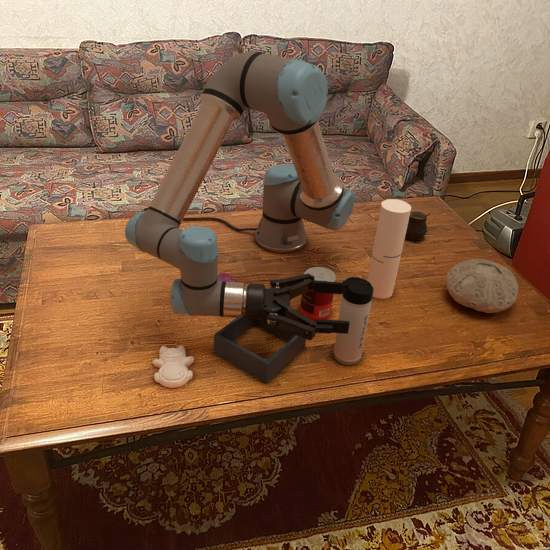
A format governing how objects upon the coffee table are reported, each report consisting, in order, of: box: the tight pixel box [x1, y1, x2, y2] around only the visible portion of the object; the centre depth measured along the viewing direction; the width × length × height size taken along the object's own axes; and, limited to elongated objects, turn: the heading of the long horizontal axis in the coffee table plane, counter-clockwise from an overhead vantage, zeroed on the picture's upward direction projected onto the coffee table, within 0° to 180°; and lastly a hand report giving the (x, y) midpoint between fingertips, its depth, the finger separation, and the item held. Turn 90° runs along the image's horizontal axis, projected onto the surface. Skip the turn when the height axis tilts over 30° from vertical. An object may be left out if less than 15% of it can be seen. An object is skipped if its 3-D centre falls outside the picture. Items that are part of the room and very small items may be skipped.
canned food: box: [299, 266, 337, 322], centre depth 134 cm, size 8×8×11 cm
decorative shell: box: [445, 257, 520, 314], centre depth 143 cm, size 18×18×10 cm
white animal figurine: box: [152, 344, 195, 389], centre depth 118 cm, size 9×12×3 cm
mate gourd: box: [405, 210, 432, 242], centre depth 169 cm, size 7×8×10 cm
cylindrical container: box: [366, 198, 412, 300], centre depth 140 cm, size 7×7×25 cm
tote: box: [213, 315, 307, 384], centre depth 123 cm, size 15×15×6 cm
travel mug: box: [332, 276, 374, 366], centre depth 119 cm, size 6×7×20 cm
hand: (346, 307), depth 117 cm, fingers open, 13 cm apart
